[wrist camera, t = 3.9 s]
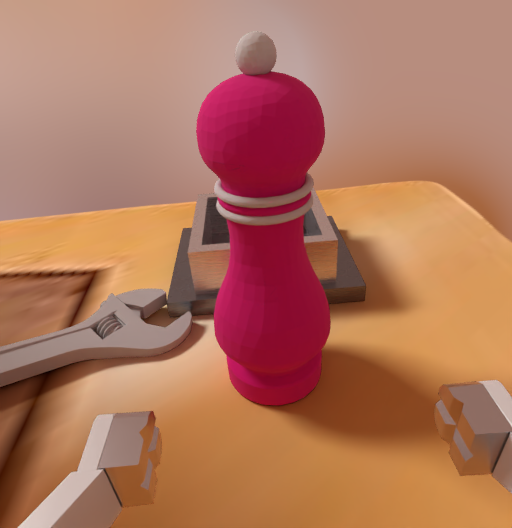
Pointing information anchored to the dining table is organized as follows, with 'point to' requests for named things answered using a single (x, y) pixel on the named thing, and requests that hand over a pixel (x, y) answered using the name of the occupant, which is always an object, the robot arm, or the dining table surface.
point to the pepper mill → (266, 225)
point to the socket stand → (218, 254)
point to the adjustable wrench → (98, 337)
